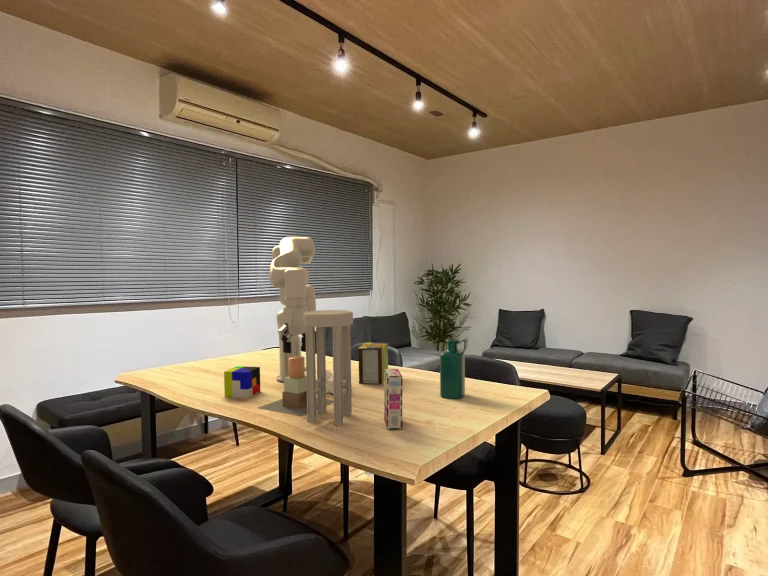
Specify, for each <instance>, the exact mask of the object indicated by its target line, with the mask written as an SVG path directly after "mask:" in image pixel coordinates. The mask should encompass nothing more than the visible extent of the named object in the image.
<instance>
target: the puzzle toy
mask: <svg viewBox="0 0 768 576" xmlns="http://www.w3.org/2000/svg"><path fill="white" fill-rule="evenodd" d="M223 380H224V381H223V382H224V383H223V384H224V398H237V397H241V398H242V399H249V398H251V397H253V396H255V395H256V393H257V392H258V393H260V392H261V367H260V366H243V365H242V366H237V365H236V366H234V367H232V368H230V369H227V370H224V371H223ZM259 391H260V392H259ZM258 393H257V394H258ZM254 394H255V395H254ZM252 395H253V396H252ZM241 398H240V399H241Z"/></svg>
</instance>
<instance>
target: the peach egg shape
mask: <svg viewBox="0 0 768 576" xmlns="http://www.w3.org/2000/svg"><path fill="white" fill-rule="evenodd" d="M305 367H306V359H305V356H302V355H301V356H293V357H289V378H291V379H299V378H304V377H305V375H306V373H305V372H306V371H305Z"/></svg>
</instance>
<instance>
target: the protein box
mask: <svg viewBox="0 0 768 576" xmlns="http://www.w3.org/2000/svg"><path fill="white" fill-rule="evenodd" d="M388 345H389V344H388V342H365V343H363V344H362V345H361V346H359V347H358V350H357V351H358V352H357V354H358V384H360V385H362V384H363V385H384V369H389V352H388V351H389V346H388Z"/></svg>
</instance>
